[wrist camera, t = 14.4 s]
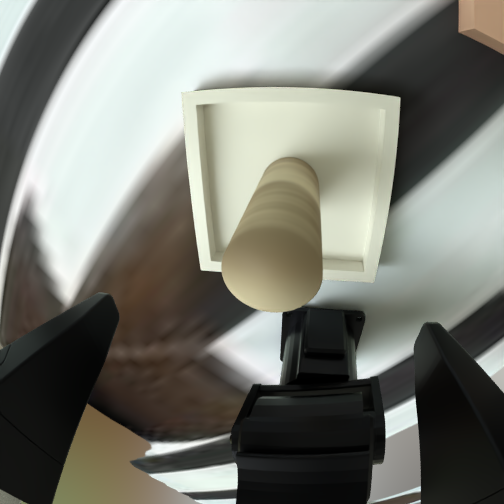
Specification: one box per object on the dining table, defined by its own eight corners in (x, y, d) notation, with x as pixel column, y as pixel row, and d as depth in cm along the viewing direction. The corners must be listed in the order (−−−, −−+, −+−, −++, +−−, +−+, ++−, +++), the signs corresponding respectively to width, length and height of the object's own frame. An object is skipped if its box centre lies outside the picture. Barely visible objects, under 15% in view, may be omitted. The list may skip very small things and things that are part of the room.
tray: (370, 267, 20) (373, 282, 19) (208, 256, 22) (201, 270, 21) (391, 95, 14) (400, 97, 13) (193, 91, 16) (181, 92, 15)
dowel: (317, 212, 18) (317, 315, 11) (262, 209, 19) (225, 307, 11) (319, 158, 16) (327, 232, 9) (261, 156, 17) (216, 225, 9)
